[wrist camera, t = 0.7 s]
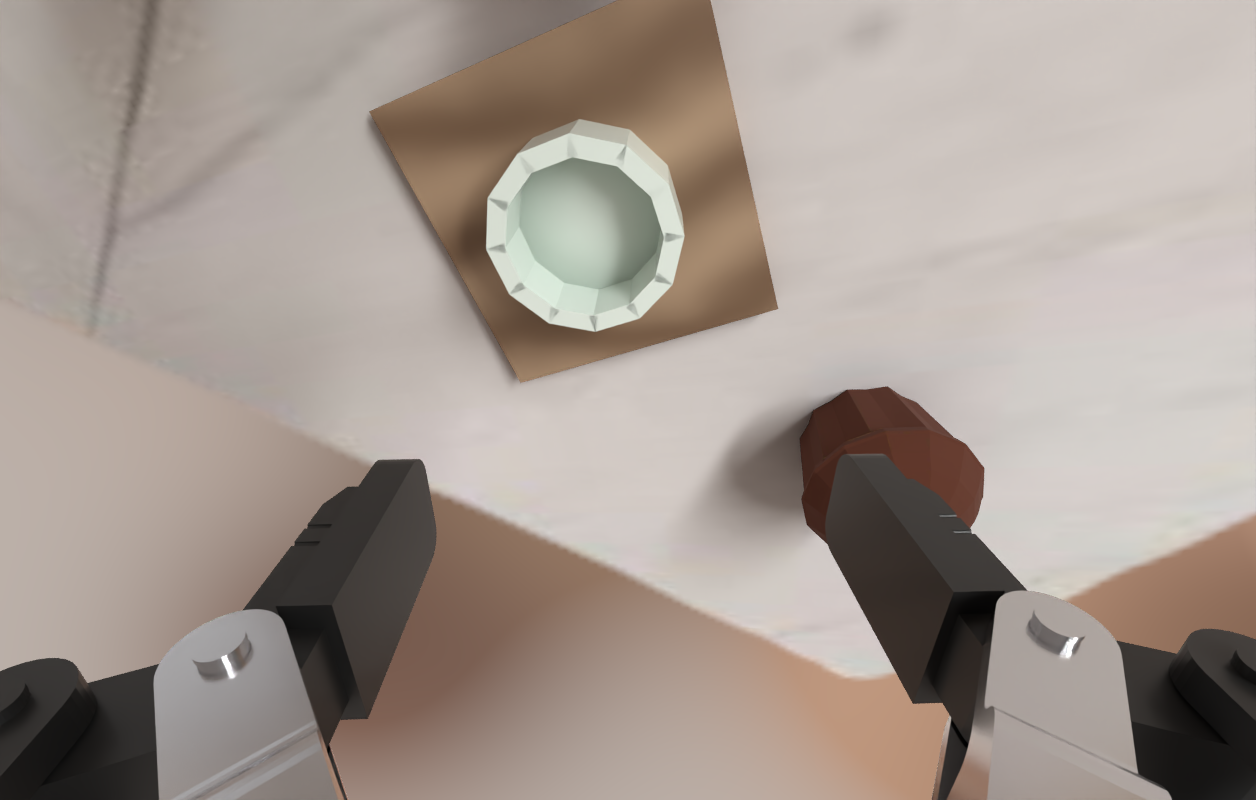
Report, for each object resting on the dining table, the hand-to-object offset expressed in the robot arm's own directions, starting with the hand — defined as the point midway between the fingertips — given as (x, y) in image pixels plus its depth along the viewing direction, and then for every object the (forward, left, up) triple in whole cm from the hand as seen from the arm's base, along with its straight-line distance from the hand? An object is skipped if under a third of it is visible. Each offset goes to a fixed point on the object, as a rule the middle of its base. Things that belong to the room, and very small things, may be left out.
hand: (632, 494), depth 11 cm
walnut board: (+1, -4, -25) cm, 25 cm away
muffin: (+23, +9, -25) cm, 35 cm away
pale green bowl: (+1, -4, -24) cm, 24 cm away
